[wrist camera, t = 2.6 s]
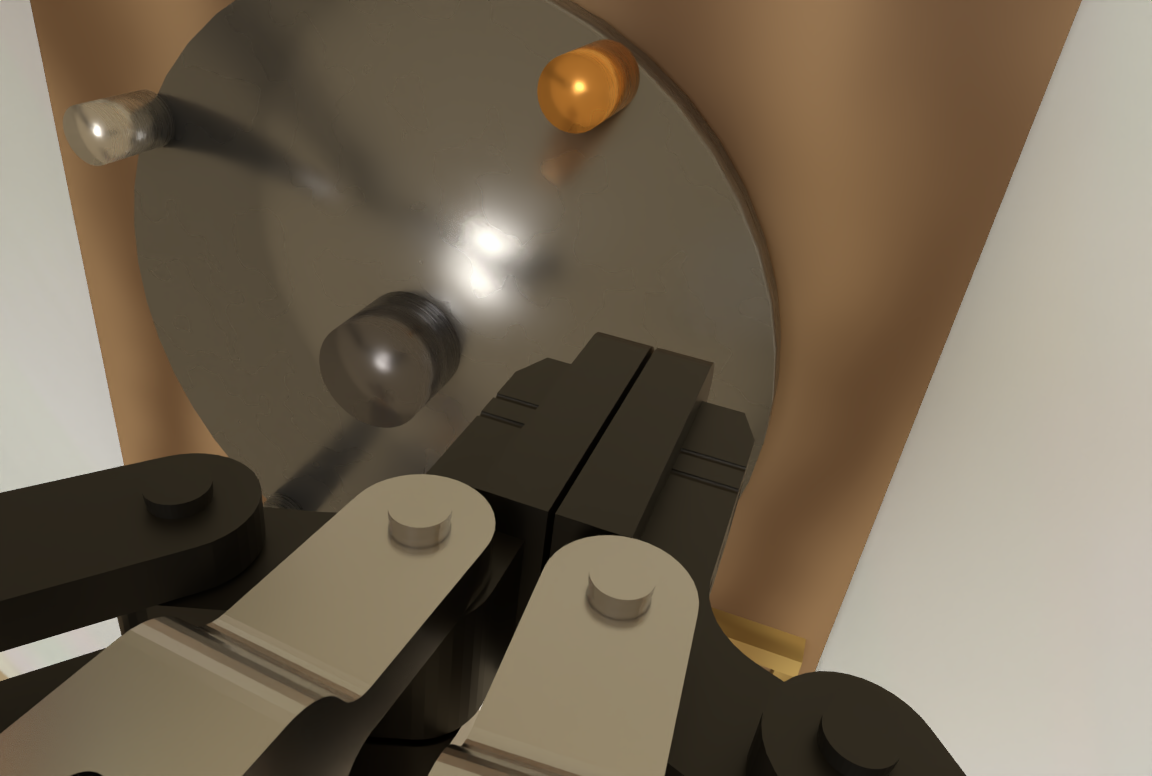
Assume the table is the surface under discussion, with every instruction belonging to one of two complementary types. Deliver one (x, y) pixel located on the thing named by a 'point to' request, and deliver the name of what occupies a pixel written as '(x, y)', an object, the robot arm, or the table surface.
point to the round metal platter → (423, 226)
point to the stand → (784, 210)
